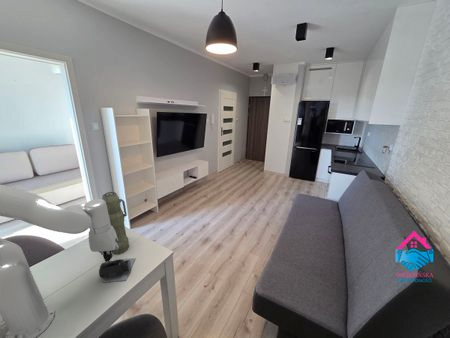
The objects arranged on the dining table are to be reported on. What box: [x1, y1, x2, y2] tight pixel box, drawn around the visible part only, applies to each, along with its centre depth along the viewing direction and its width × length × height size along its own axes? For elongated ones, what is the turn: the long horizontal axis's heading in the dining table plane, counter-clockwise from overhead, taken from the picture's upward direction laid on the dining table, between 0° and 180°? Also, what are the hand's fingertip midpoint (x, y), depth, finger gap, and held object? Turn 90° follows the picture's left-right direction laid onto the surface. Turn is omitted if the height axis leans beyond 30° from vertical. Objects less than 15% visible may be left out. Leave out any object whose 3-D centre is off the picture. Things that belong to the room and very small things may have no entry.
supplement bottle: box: [98, 258, 132, 279], centre depth 87 cm, size 7×7×12 cm
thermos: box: [101, 191, 130, 256], centre depth 98 cm, size 9×12×35 cm
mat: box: [102, 257, 136, 284], centre depth 90 cm, size 13×10×1 cm
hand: (108, 259), depth 85 cm, fingers closed
